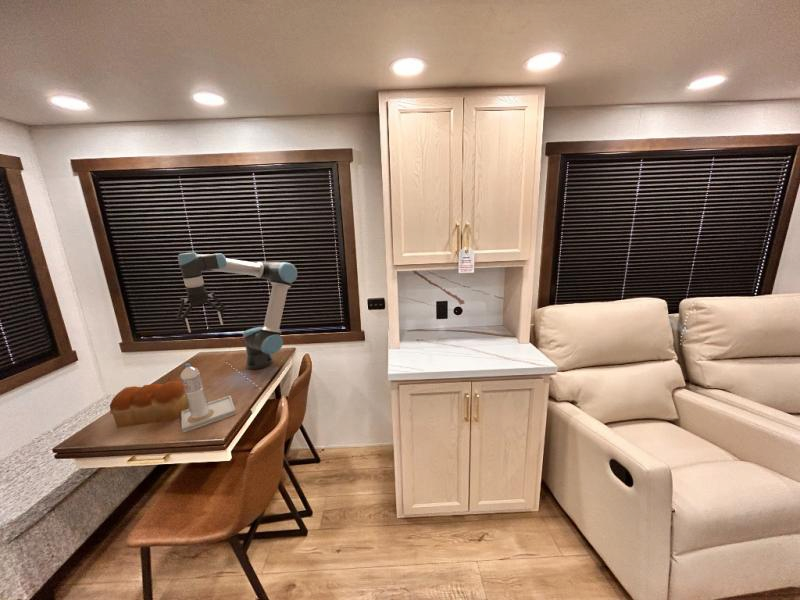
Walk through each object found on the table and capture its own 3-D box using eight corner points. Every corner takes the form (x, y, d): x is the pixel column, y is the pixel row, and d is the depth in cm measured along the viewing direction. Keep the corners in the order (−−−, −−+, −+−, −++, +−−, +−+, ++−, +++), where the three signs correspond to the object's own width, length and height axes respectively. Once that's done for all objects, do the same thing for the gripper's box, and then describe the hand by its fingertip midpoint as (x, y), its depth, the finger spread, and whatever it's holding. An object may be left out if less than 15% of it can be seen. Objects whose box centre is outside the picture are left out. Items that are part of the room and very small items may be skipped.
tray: (231, 399, 150) (230, 395, 149) (236, 413, 137) (235, 409, 136) (182, 415, 139) (181, 411, 138) (182, 432, 126) (181, 428, 125)
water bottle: (210, 415, 134) (197, 364, 128) (192, 422, 130) (178, 369, 124) (208, 409, 140) (196, 359, 134) (191, 415, 136) (177, 364, 130)
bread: (115, 428, 132) (105, 398, 129) (134, 412, 144) (125, 384, 141) (178, 418, 136) (170, 389, 133) (191, 403, 148) (184, 376, 145)
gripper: (223, 280, 153) (232, 319, 159) (162, 290, 139) (175, 333, 144) (225, 281, 147) (235, 322, 153) (162, 292, 133) (175, 337, 139)
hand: (206, 328), depth 149 cm, fingers open, 13 cm apart
